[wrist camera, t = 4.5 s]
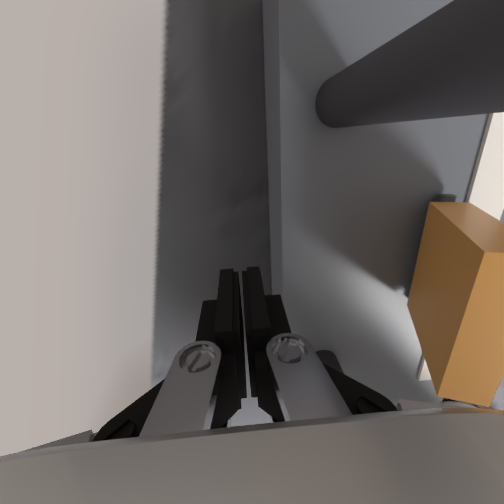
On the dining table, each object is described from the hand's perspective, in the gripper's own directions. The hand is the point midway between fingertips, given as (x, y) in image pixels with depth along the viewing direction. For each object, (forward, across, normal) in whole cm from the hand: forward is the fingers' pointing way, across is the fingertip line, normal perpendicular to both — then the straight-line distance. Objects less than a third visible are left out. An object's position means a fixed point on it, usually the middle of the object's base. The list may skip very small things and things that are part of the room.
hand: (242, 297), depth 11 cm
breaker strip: (+8, -8, 0) cm, 12 cm away
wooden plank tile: (+3, -10, 0) cm, 11 cm away
